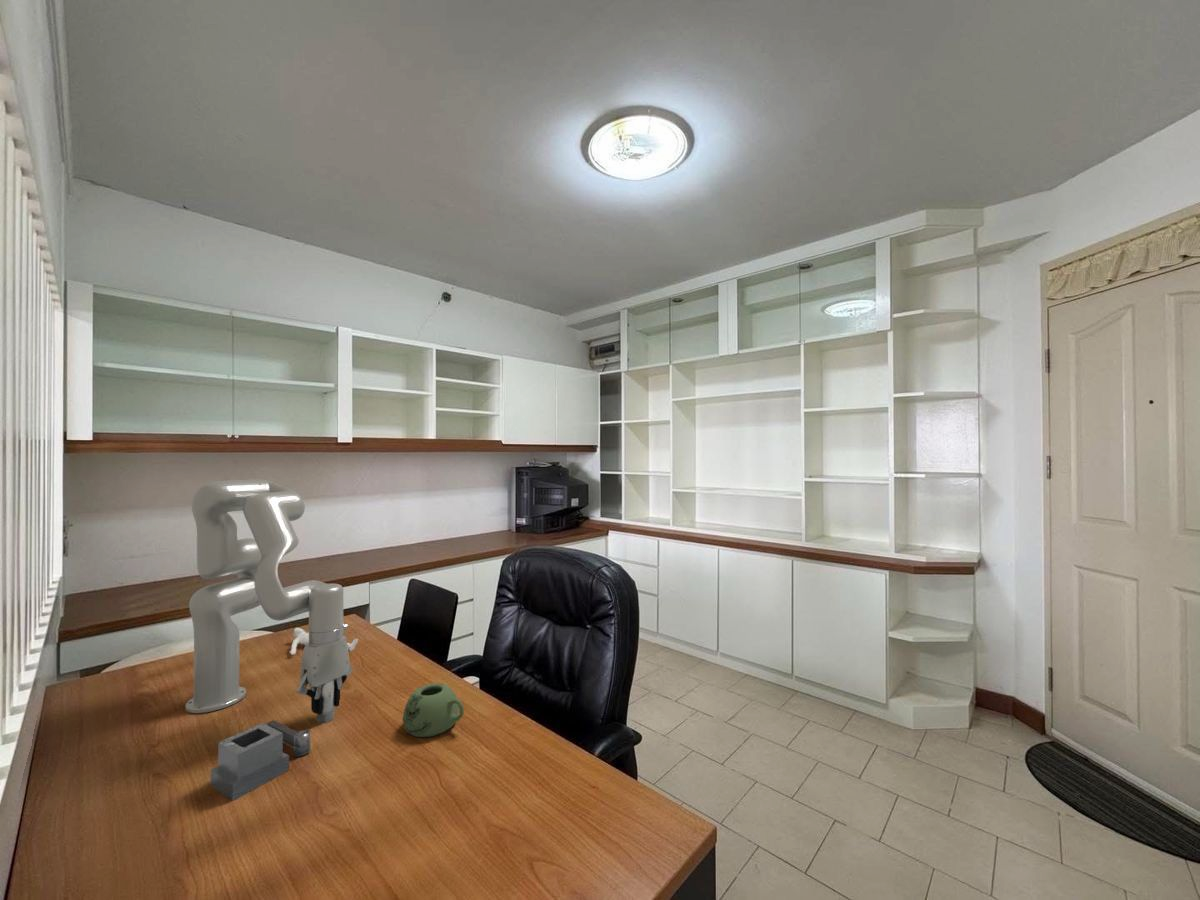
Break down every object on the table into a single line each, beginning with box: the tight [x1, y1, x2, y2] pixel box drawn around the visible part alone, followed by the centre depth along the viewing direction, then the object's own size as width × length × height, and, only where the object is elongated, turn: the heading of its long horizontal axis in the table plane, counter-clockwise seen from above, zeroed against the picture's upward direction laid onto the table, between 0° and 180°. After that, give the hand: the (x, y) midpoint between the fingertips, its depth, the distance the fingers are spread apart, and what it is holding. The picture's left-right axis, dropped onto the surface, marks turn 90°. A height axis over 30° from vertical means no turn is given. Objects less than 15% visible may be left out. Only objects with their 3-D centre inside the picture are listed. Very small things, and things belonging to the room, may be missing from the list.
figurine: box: [289, 627, 359, 656], centre depth 161 cm, size 6×19×25 cm
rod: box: [316, 680, 335, 724], centre depth 117 cm, size 4×4×11 cm
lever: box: [265, 719, 311, 758], centre depth 106 cm, size 16×3×4 cm, turn 61°
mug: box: [402, 682, 465, 738], centre depth 113 cm, size 16×13×9 cm
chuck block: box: [210, 722, 290, 801], centre depth 95 cm, size 9×10×8 cm
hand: (325, 708), depth 117 cm, fingers closed on rod, 3 cm apart
